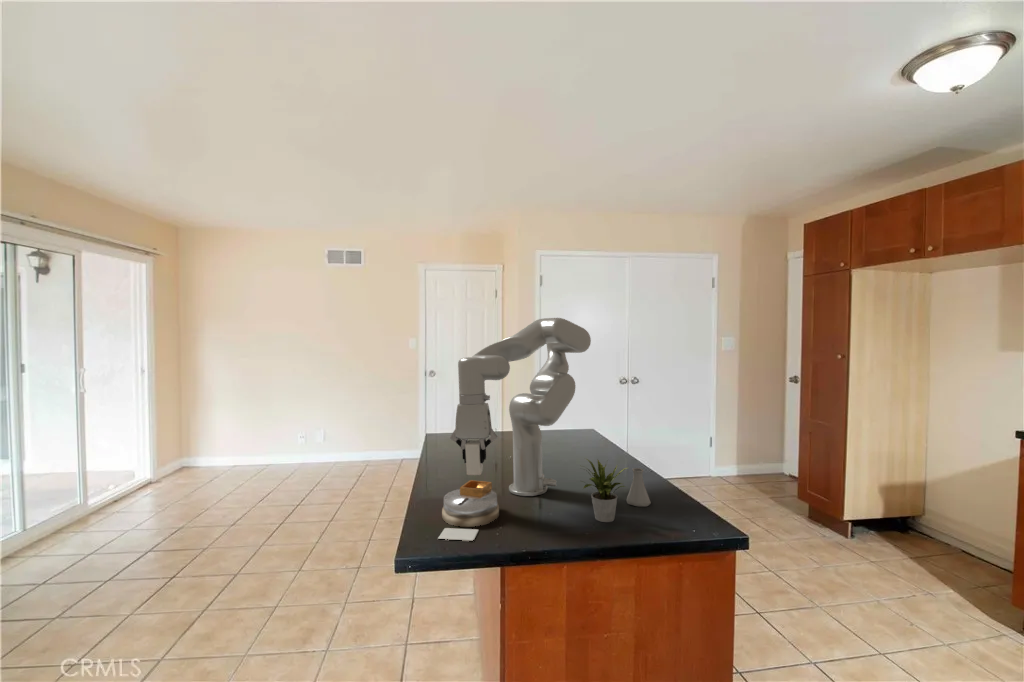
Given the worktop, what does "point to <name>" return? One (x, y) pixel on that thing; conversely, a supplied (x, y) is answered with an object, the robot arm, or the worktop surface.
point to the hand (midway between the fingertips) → (474, 461)
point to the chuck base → (470, 519)
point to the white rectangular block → (473, 457)
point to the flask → (638, 490)
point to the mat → (458, 534)
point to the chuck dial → (471, 500)
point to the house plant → (603, 493)
